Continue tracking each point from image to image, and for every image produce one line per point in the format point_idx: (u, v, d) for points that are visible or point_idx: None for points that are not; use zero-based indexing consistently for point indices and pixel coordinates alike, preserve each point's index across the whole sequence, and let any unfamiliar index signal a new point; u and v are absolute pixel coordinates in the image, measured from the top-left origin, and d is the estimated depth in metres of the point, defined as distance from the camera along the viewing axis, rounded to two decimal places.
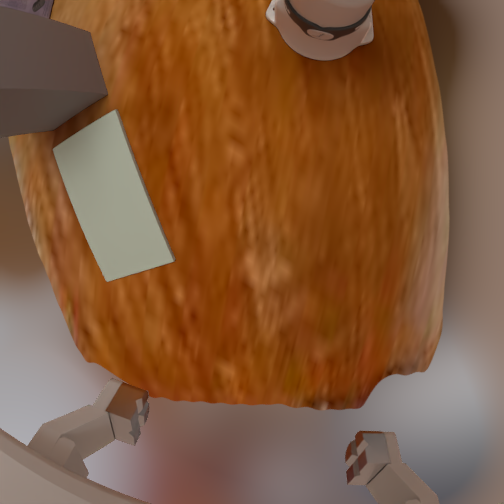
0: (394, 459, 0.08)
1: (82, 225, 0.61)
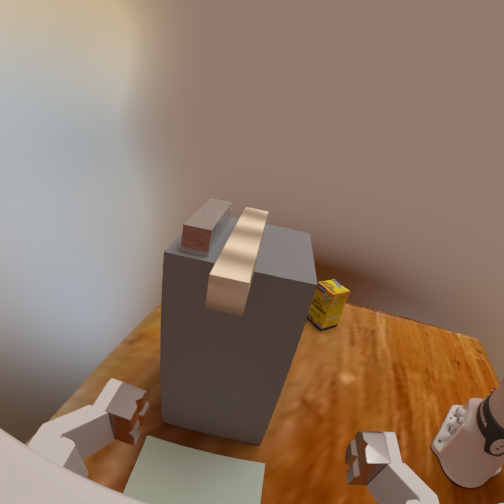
0: (394, 459, 0.08)
1: None
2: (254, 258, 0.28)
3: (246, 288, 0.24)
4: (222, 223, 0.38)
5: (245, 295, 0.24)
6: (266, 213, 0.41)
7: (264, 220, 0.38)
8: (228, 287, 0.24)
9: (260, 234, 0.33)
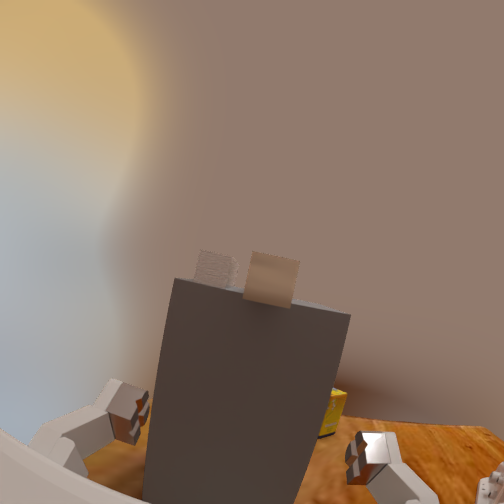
0: (394, 459, 0.08)
1: None
2: None
3: (296, 268, 0.20)
4: (233, 272, 0.35)
5: (295, 278, 0.20)
6: None
7: None
8: (275, 268, 0.20)
9: None
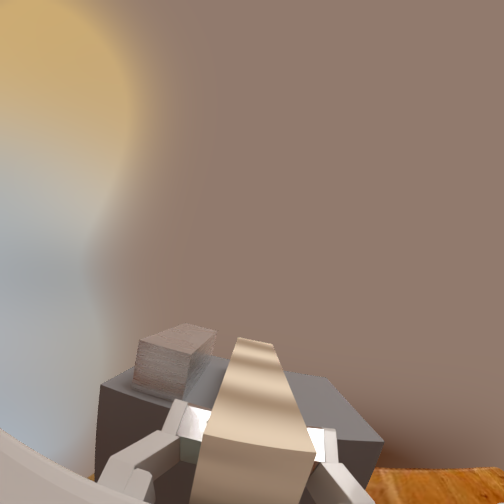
0: (329, 457, 0.09)
1: None
2: (293, 401, 0.11)
3: (308, 467, 0.07)
4: (204, 355, 0.22)
5: (302, 484, 0.07)
6: (271, 345, 0.26)
7: (273, 352, 0.23)
8: (258, 468, 0.07)
9: (279, 367, 0.18)
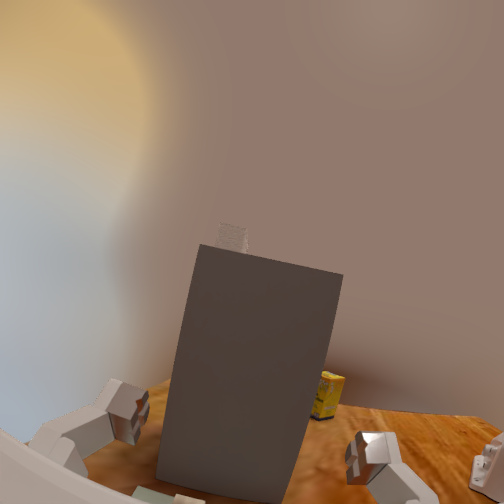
0: (394, 459, 0.08)
1: None
2: None
3: None
4: (245, 247, 0.42)
5: None
6: None
7: None
8: None
9: None
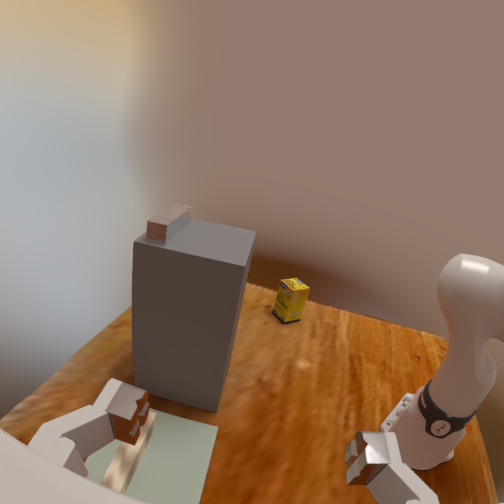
0: (394, 459, 0.08)
1: None
2: (102, 479, 0.31)
3: None
4: (180, 222, 0.49)
5: None
6: None
7: None
8: None
9: (118, 449, 0.37)
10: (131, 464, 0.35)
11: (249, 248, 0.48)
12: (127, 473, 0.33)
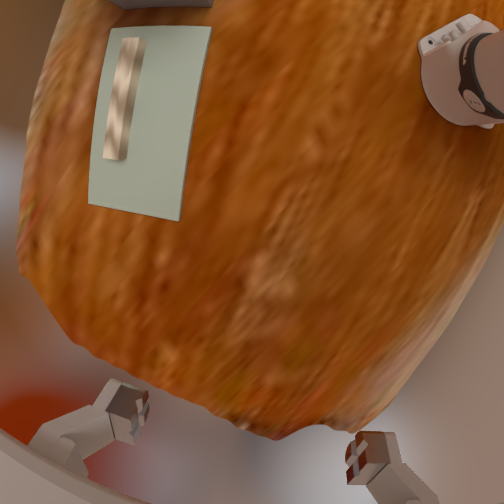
0: (394, 459, 0.08)
1: (95, 128, 0.46)
2: (106, 130, 0.44)
3: None
4: None
5: (108, 158, 0.45)
6: (122, 44, 0.38)
7: (118, 62, 0.39)
8: None
9: (112, 92, 0.41)
10: (124, 104, 0.42)
11: None
12: (123, 115, 0.42)
